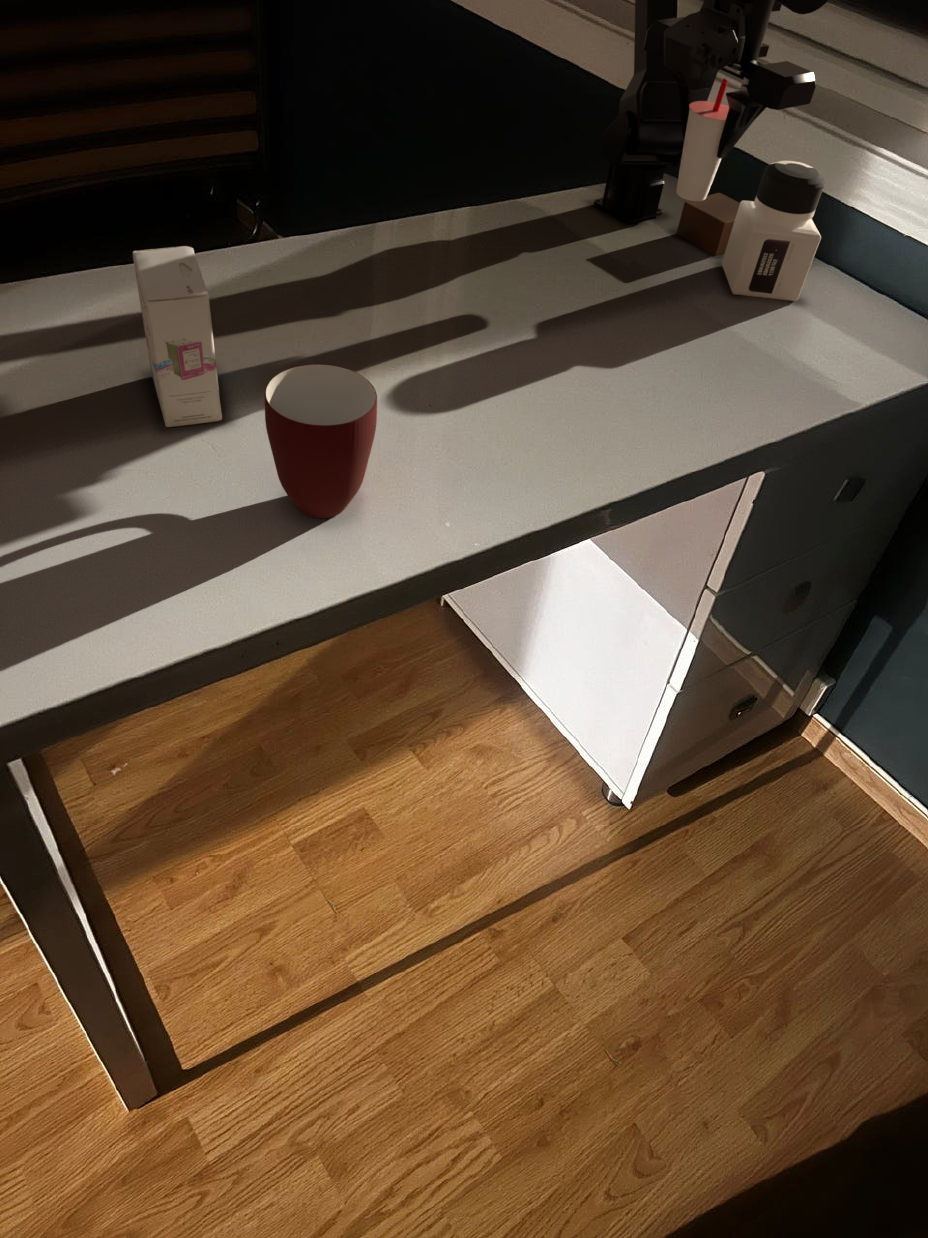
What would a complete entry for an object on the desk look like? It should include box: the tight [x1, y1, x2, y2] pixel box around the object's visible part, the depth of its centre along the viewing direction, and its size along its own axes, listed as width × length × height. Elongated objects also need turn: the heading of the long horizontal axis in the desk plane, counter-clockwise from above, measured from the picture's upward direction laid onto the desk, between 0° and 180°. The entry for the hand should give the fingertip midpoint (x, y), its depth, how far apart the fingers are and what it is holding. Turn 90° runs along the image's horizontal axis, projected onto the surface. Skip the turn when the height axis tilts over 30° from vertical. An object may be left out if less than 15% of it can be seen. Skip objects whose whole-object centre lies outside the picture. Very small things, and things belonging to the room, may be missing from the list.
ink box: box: [132, 245, 223, 428], centre depth 81 cm, size 9×5×12 cm, turn 21°
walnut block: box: [675, 192, 740, 256], centre depth 119 cm, size 6×6×4 cm
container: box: [721, 160, 826, 302], centre depth 109 cm, size 8×8×13 cm
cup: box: [675, 77, 729, 201], centre depth 105 cm, size 5×5×12 cm
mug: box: [264, 363, 378, 519], centre depth 74 cm, size 11×8×10 cm
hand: (703, 148), depth 106 cm, fingers closed on cup, 5 cm apart
